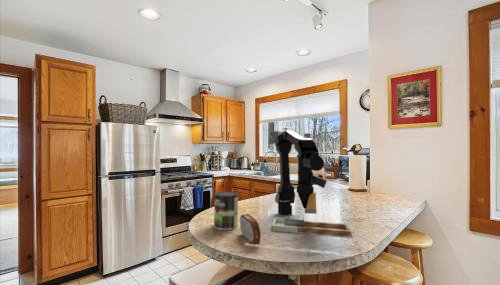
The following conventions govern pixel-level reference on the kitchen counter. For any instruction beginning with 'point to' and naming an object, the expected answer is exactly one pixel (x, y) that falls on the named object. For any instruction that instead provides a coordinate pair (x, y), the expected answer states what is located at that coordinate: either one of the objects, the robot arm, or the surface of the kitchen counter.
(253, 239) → the grey and brown slab
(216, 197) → the coffee can
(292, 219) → the chip
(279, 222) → the tray
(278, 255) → the kitchen counter surface
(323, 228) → the channel board
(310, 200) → the rake block
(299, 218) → the chip
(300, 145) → the robot arm
